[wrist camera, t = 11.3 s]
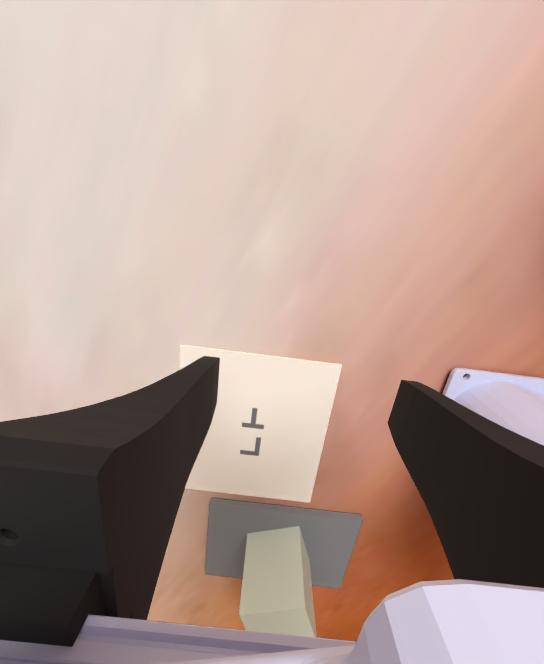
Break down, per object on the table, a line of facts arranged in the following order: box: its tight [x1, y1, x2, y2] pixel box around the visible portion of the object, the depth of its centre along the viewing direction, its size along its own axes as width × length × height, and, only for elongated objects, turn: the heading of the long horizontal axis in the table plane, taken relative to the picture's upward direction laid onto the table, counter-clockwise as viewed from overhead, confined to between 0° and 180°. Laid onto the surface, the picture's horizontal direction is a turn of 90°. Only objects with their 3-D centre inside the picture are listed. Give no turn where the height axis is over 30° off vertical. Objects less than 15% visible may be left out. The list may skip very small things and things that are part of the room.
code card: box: [180, 345, 342, 503], centre depth 23 cm, size 12×14×1 cm
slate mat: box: [205, 498, 363, 589], centre depth 28 cm, size 14×10×1 cm
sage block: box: [239, 526, 317, 637], centre depth 24 cm, size 5×5×6 cm
